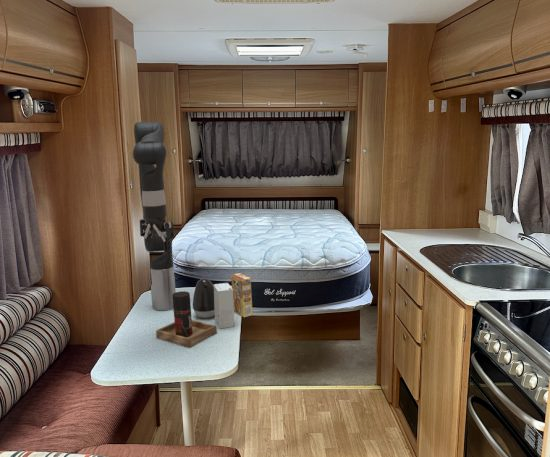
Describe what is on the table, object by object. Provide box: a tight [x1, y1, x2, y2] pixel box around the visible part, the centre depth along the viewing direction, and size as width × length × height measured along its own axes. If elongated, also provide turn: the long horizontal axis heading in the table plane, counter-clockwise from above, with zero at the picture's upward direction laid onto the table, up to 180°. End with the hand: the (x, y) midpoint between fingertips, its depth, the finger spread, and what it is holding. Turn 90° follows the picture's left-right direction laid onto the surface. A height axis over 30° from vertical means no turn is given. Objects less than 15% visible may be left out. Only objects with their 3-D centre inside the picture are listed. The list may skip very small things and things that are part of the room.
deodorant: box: [172, 290, 193, 337], centre depth 179 cm, size 6×6×15 cm
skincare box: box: [213, 282, 235, 329], centre depth 189 cm, size 8×6×15 cm
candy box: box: [230, 272, 253, 318], centre depth 199 cm, size 9×4×15 cm, turn 33°
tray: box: [155, 319, 218, 349], centre depth 181 cm, size 16×14×3 cm
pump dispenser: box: [192, 277, 215, 319], centre depth 198 cm, size 10×10×15 cm
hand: (158, 250), depth 174 cm, fingers open, 8 cm apart
